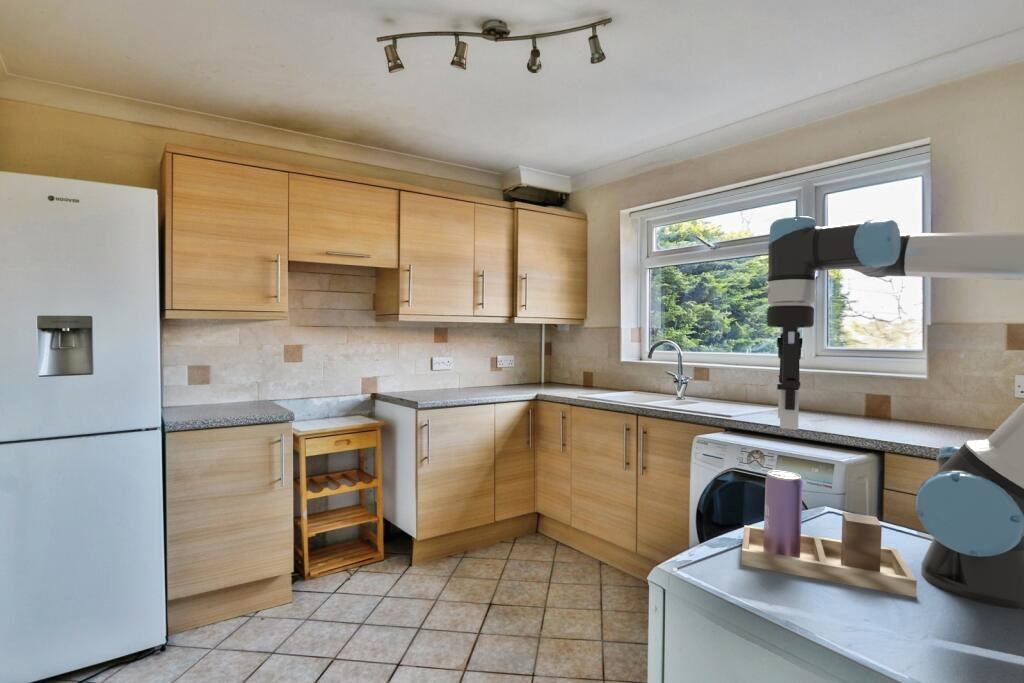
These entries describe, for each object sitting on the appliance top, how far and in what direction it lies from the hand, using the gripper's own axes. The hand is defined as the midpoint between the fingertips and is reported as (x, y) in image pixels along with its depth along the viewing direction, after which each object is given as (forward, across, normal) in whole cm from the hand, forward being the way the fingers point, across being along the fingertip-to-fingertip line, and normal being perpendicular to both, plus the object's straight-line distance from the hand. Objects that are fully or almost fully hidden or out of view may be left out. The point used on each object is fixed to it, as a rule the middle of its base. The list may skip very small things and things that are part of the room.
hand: (787, 423), depth 98 cm
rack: (+25, 0, +6) cm, 26 cm away
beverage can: (+24, 0, 0) cm, 25 cm away
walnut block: (+24, 0, +12) cm, 27 cm away
